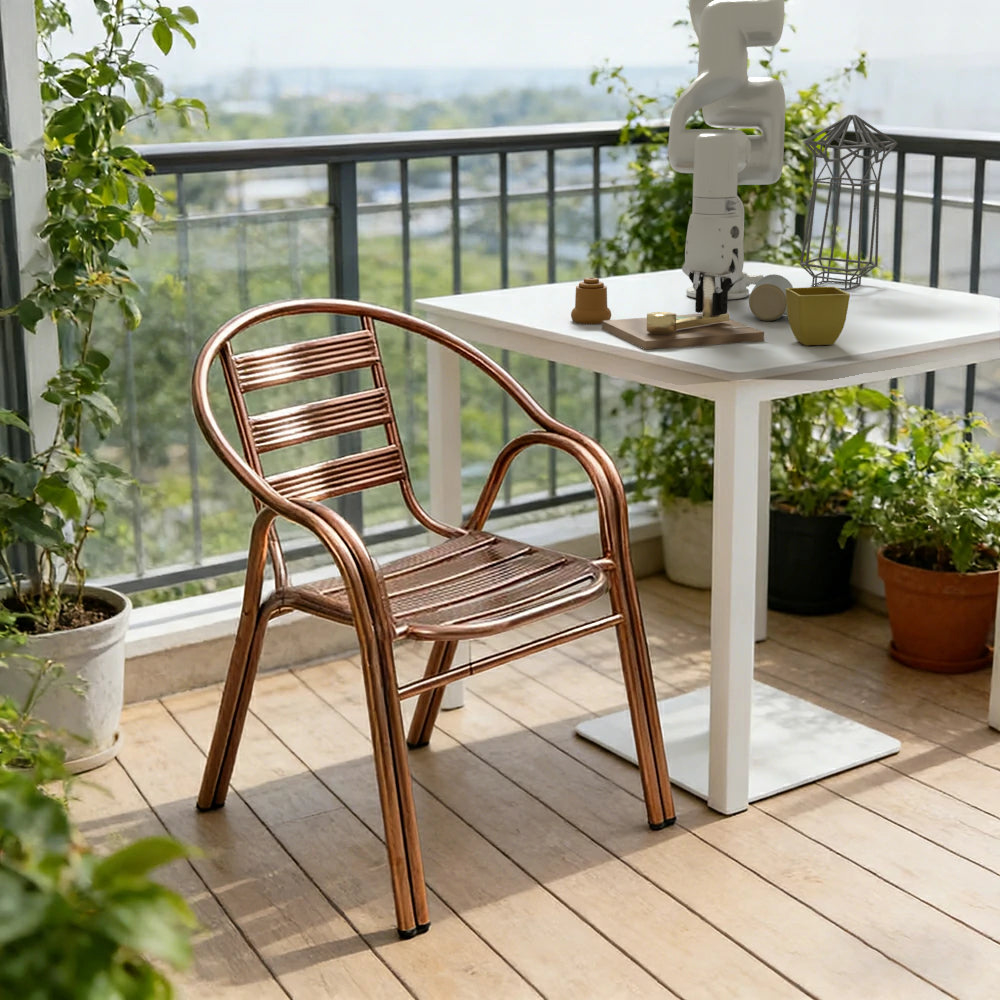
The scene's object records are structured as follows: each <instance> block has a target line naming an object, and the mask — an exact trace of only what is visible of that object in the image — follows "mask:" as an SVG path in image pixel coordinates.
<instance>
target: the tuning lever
mask: <svg viewBox="0 0 1000 1000" xmlns="http://www.w3.org/2000/svg"><path fill="white" fill-rule="evenodd" d="M714 292H716V287H715V274H708V275H703V303H702V312H701V314H702V316H697V317H691V318H685V319H679V320H676V315H677V313H675V312H670V311H669V312H667V311H656V312H655V311H654V312H648V313H647V314H646V318H647V332H650V333H658V334H665V333H673V332H676V330H678V329H684V328H689V327H695V326H701V325H707V324H713V323H719V322H725V321H729V319H730V313H728V312H727V313H726V314H723V315H717V316H715V315H713V314H712V306H713V293H714Z"/></svg>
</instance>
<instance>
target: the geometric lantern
mask: <svg viewBox="0 0 1000 1000" xmlns="http://www.w3.org/2000/svg"><path fill="white" fill-rule="evenodd" d="M851 121H852V123H853V128H854V131H855V132H854V133H855V138H856V141H853V140H847V139H845V137H846V134H847V132H848V128H849V126H850V124H851ZM870 129H871V130H870ZM872 131H874V132H875V133H877V134H879V135H880V136H882V137H883V138H884V139H886V140H887V141H881V140H880V139H879V138H878V137H877V136H876V135H875V134H874V133H873V132H872ZM826 132H827V133H826ZM825 133H826V134H825ZM822 134H825V135H823V136H822V137H821V138H820V139H819V140H817V141H815V139H816V138H818V137H819V136H820V135H822ZM840 137H841V138H840ZM860 138H861V140H860ZM833 141H835V142H837V144H838V145H832V144H831V143H832V142H833ZM866 141H867V142H866ZM875 141H876V142H875ZM801 143H802V144H804V145H805V146H806V147H807V148H808V149H809V150H810V152H811V153H812V154H813V167H812V168H813V170H812V171H813V173H812V182H813V183H812V191H811V195H810V202H809V208H808V214H807V220H806V226H805V232H804V238H803V243H802V250H801V255H800V256H801V257H800V262H799V264H800V266H801V267H802V268H803V269H804V270H805V271H806V273H808V274H809V276H811V277H812V282H811V285H810V287H811V286H812V287H824V286H821V285H820V284H823V283H822V282H824V283H832V282H834V283H835V284H844V287H837V288H838V289H841V290H842V291H848V290H849V291H850V290H852V289H854V288H857V287H859V286H861V285H862V284H861V282H862V277H864V276H865V275H866V274H867V273H869V272H870V271H872V270H873V269H875V268H878V264H879V263H878V261H879V259H878V258H879V230H880V229H879V227H880V226H879V222H880V220H879V219H880V218H879V217H880V186H881V185H880V184H881V183H880V182H881V181H880V180H881V176H882V175H881V174H882V170H883V163H884V161H885V159H886V158H887V156H889V154H890V153H891V152H892V151H893V149H894V148H895V147H896V146H897V145H898V142H897V141H896V140H894V139H893V138H891V137H890V136H888V135H886V134H885V133H883V132H882V131H880V130H879V129H877V128H876V127H874V126H872V124H870V123H868V122H867V121H866V120H864V119H862V118H861V117H859V116H858V115H857V114H847V115H846V116H845V117H843V118H841V119H840V120H838V121H835V122H834V123H832V124H831V125H829V126H827V127H826V128H824V129H822V130H820V131H818V132H817V133H815V134H814V135H811V136H810V137H807V138H806V139H804V140H803V141H801ZM845 143H846V144H850V145H846V144H845ZM818 145H819V146H820V149H819V148H818V147H817V146H818ZM823 146H824V150H823ZM829 148H830V149H836V150H837V151H836V152H837V158H829V157H828V149H829ZM865 148H870V150H869V151H870V152H869V154H868V156H865V155H862V154H861V155H860V151H862V150H864V149H865ZM852 149H854V150H852ZM887 149H888V150H887ZM840 150H846V151H848V152H849V153H847V154H846V155H844V156H842V157H841V156H840V155H841V154H840ZM872 152H873V153H872ZM881 153H882V157H881V158H879V155H880V154H881ZM851 156H853V157H852V158H851V160H850V161H849V163H848V164H847V165H846V166H845V163H844V160H846V159H848V158H850V157H851ZM817 158H819V159H823V161H824V162H825V164H824V165H823V167H822V168H821V171H820V172H819V174H818V176H817V177H816V171H817ZM856 158H860V159H865V160H867V161H868V162H869V165H870V166H869V168H868V170H867V171H866V173H865V175H864V177H863V178H853V177H851V176H850V173H849V171H848V169H849V168H850V167H851V165H852V164H853V162H854V161H855V160H856ZM873 158H874V161H873V162H872V161H871V159H873ZM831 162H835V163H836V162H839V163H840V164H841V166H842V169H843V171H842V172H841V173H840V175H839V176H838V177H837V176H836V177H835V176H834V174H833V171H832V170H831V168H830V166H829V164H828V163H831ZM878 163H880V164H879V170H878V174H876V172H875V169H874V165H875V164H878ZM826 167H827V168H828V171H829V173H830V175H831V176H827V177H822V178H820V177H821V175H822V173H823V171H824V170H825V168H826ZM871 170H872V174H873V176H874V178H875V179H866V177H868V174H869V173H870V171H871ZM845 174H846V176H847V177H843V176H844V175H845ZM877 175H878V176H877ZM825 180H830V181H825ZM843 180H845V181H849V182H850V183H845V182H842V181H843ZM834 181H838V182H834ZM854 181H857V182H859V181H860V183H854ZM863 182H867V183H863ZM819 183H820V184H829V188H828V194H827V200H826V201H827V202H826V206H825V207H826V209H825V215H824V222H823V228H822V234H821V240H820V248H819V253H818V257H816V258H813V259H810V251H811V243H812V231H813V224H814V216H815V207H816V197H817V189H818V184H819ZM833 185H837V187H838V188H837V195H836V196H837V197H836V204H835V215H834V221H833V229H832V231H833V232H832V241H831V246H830V248H831V249H830V255H829V256H830V257H822V256H823V255H822V254H823V249H824V243H825V236H826V229H827V223H828V216H829V210H830V203H831V197H832V190H833ZM871 185H875V187H874V200H873V212H872V223H871V224H872V225H871V234H870V235H871V236H870V245H869V246H870V247H869V248H870V249H869V261H868V260H867V261H866V260H861V258H862V257H861V252H862V251H861V250H862V230H863V229H862V228H863V209H864V208H863V206H864V186H871ZM842 186H851V193H850V204H849V205H850V206H849V216H848V217H849V218H848V219H849V220H848V229H847V230H848V231H847V242H846V243H847V244H846V255H845V257H846V258H845V259H844V258H836V257H834V252H835V251H834V250H835V241H836V232H837V225H838V224H837V223H838V215H839V209H840V208H839V205H840V197H841V191H842V190H841V189H842V188H841V187H842ZM855 187H860V197H859V216H858V217H859V219H858V243H857V244H858V245H857V260H855V259H850V258H849V257H850V251H851V250H850V247H851V235H852V223H853V221H852V220H853V210H854V197H855ZM874 238H875V239H874ZM874 240H875V241H874ZM874 242H875V252H874ZM806 246H807V248H806ZM805 252H806V257H805ZM873 252H874V253H875V254H874V255H875V256H874V262H873ZM804 258H805V261H804ZM817 261H818V262H819V265H818V264H811V263H814V262H817ZM822 261H828V265H826V266H825V265H823V262H822ZM832 261H833V262H842V263H845V267H844V268H841V267H834V266H831V262H832ZM849 263H854V264H857V268H849ZM861 264H864V265H865V266H864V267H863V266H862V267H861ZM810 267H811V268H817V269H822V271H821V272H819V273H816V274H815V272H813V270H812V269H811V268H810ZM826 270H827V271H826ZM830 270H831V271H830ZM865 270H866V271H865ZM836 271H837V272H836ZM864 271H865V272H864ZM851 272H854V273H851ZM825 274H827V276H825ZM830 274H831V275H843V276H845V278H844V279H843V278H838V277H830ZM821 275H822V276H821ZM848 276H851V277H850V278H849V279H848ZM818 279H822V280H821V281H819V282H818ZM854 280H855V282H854ZM819 283H820V284H819ZM834 283H833V284H834ZM817 284H818V285H817ZM847 284H849V286H848V285H847ZM814 285H815V286H814ZM852 285H853V286H852Z"/></svg>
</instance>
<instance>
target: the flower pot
mask: <svg viewBox="0 0 1000 1000" xmlns="http://www.w3.org/2000/svg"><path fill="white" fill-rule="evenodd" d="M838 288H839V287H836V286H823V287H811V286H810V287H809V286H808V287H806V286H805V287H793V288H786V301H787V314H788V317H787V319H788V323H789V327H790V329H791V331H792V333H793V335H794V338H795V340H796V341H797V342H799V343H800V344H802V345H804V346H806V347H807V346H808V347H810V346H825V345H826V346H831V345H834V344H835V343H836V342H837V340H838V339H839V337H840V336H841V334H842V332H843V329H844V328H845V324H846V319H847V314H848V308H849V304H850V297H851V294H850V293H849V292H847V291H845V290H840V289H838Z"/></svg>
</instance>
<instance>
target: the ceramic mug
mask: <svg viewBox="0 0 1000 1000" xmlns="http://www.w3.org/2000/svg"><path fill="white" fill-rule="evenodd" d="M753 287H754V288H752V290H751V292H750V293H749V296H748V298H749V299H748V306H749V309H750V311H751V314H753V316H754V317H756V318H757V319H758V320H761V321H765V322H770V321H772V322H773V321H775V320H778V319H780V318H781V317H783V316H785V317H787V318H788V314H787V301H786V288H794V287H793V285H792V283H791V282H790V281H789V279H787V278H786V277H785V276H782V275H780V274H775V273H774V274H768V275H764V276H763V278H761V279H760V280H759V281H758V283H757V284H756V285H755V286H753Z"/></svg>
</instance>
